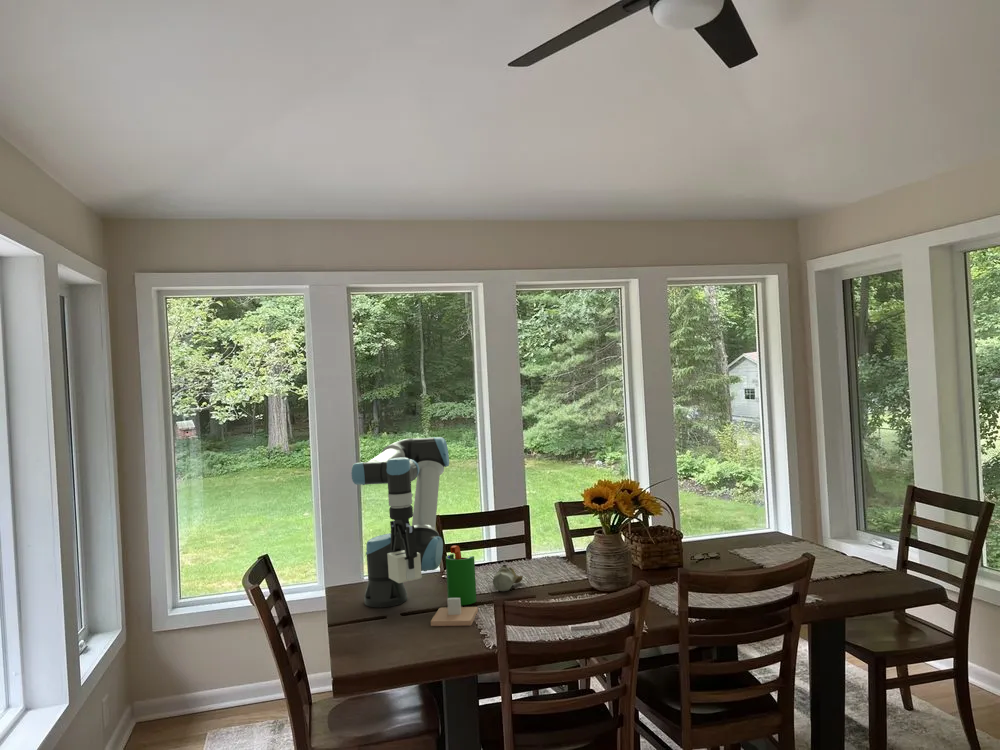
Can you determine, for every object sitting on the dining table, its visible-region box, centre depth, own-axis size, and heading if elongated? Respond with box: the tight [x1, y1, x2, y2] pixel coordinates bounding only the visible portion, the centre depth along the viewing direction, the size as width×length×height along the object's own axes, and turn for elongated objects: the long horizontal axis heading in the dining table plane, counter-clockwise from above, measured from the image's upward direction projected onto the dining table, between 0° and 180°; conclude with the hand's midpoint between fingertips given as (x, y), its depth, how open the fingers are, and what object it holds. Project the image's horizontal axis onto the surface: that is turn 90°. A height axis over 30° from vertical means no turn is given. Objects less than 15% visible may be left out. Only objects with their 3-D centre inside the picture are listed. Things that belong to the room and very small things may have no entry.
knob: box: [387, 550, 423, 584], centre depth 232 cm, size 8×8×8 cm
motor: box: [445, 545, 478, 606], centre depth 250 cm, size 10×9×20 cm
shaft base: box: [430, 597, 479, 627], centre depth 233 cm, size 13×13×6 cm
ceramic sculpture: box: [492, 564, 524, 592], centre depth 264 cm, size 11×9×15 cm
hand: (405, 575), depth 232 cm, fingers closed on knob, 8 cm apart
